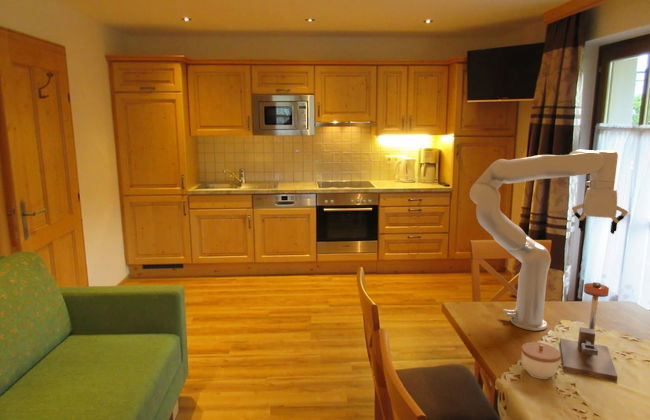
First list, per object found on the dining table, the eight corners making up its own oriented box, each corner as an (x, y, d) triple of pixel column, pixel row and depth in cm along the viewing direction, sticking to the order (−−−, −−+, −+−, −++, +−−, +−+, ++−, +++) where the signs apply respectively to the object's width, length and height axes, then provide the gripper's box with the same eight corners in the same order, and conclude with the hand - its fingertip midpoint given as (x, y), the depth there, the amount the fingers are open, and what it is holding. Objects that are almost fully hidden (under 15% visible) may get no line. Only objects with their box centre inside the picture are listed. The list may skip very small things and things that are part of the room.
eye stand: (563, 370, 137) (566, 345, 136) (559, 342, 155) (562, 319, 154) (617, 381, 132) (620, 354, 130) (606, 350, 150) (609, 326, 148)
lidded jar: (556, 387, 128) (559, 357, 127) (516, 376, 134) (519, 347, 132) (560, 370, 137) (563, 342, 136) (522, 361, 143) (525, 333, 141)
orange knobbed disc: (580, 330, 136) (585, 285, 133) (578, 322, 142) (583, 278, 139) (605, 334, 133) (610, 288, 131) (602, 326, 139) (607, 281, 136)
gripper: (575, 185, 159) (570, 231, 163) (632, 187, 152) (626, 236, 156) (573, 182, 166) (569, 227, 169) (628, 185, 159) (622, 231, 162)
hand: (596, 231), depth 162 cm, fingers open, 9 cm apart
